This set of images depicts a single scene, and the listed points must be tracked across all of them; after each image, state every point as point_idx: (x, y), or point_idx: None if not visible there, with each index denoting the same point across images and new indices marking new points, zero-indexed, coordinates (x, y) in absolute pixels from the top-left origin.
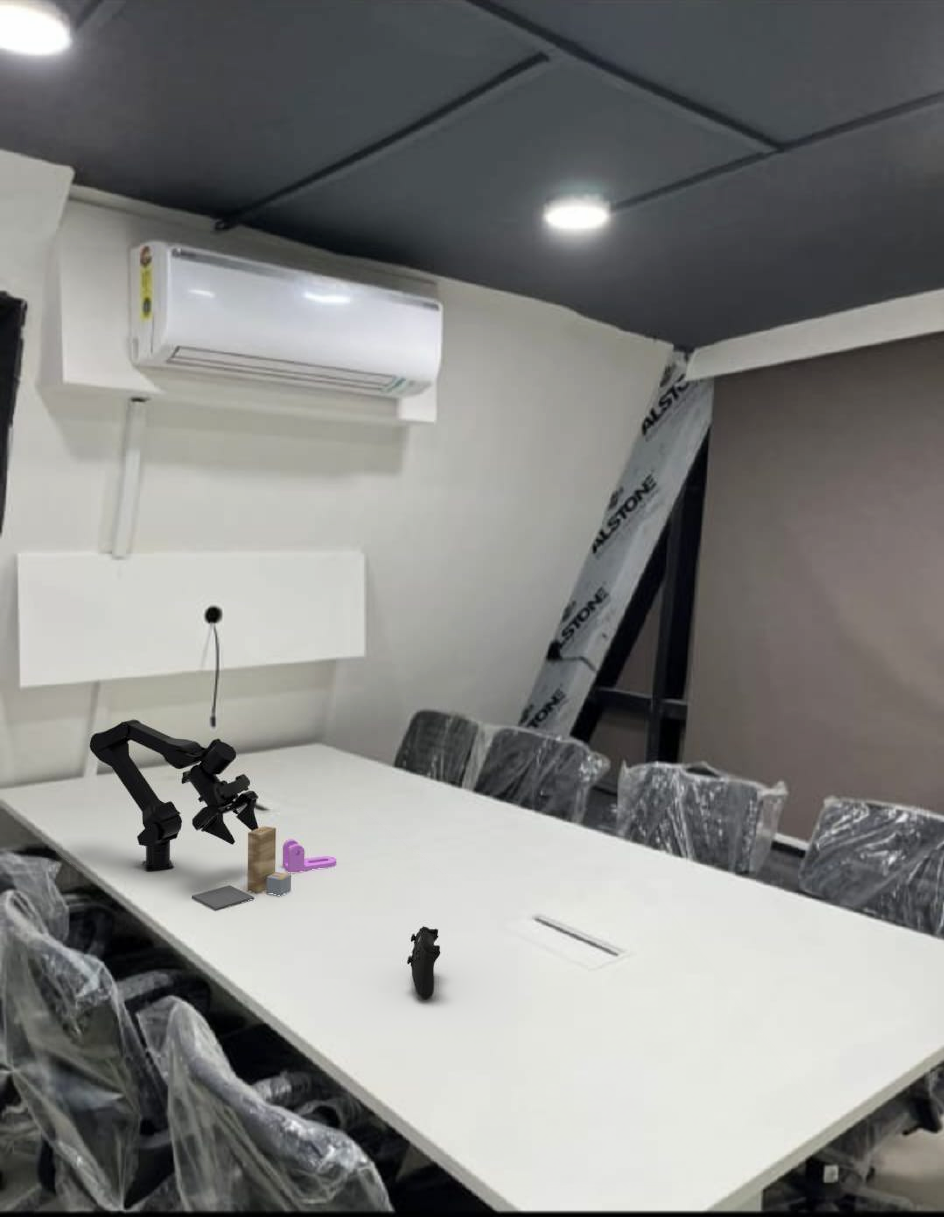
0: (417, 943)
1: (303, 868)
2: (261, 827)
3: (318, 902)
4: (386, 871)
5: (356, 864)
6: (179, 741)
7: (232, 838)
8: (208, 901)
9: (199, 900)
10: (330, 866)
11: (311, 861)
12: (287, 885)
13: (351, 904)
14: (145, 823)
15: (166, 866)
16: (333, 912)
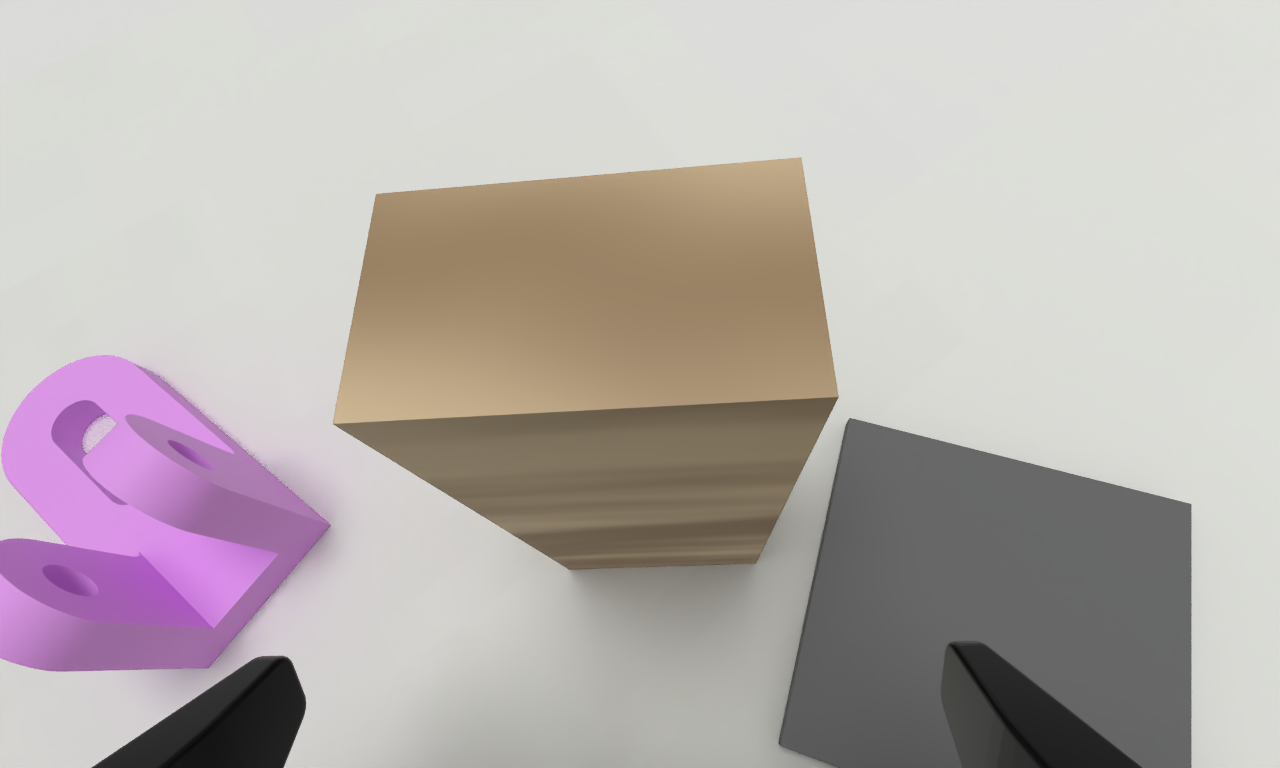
0: None
1: (253, 464)
2: (436, 397)
3: (668, 133)
4: (153, 127)
5: (75, 287)
6: None
7: (1022, 685)
8: (1152, 648)
9: (1185, 748)
10: (149, 371)
11: (111, 496)
12: None
13: (610, 26)
14: None
15: None
16: (734, 28)
